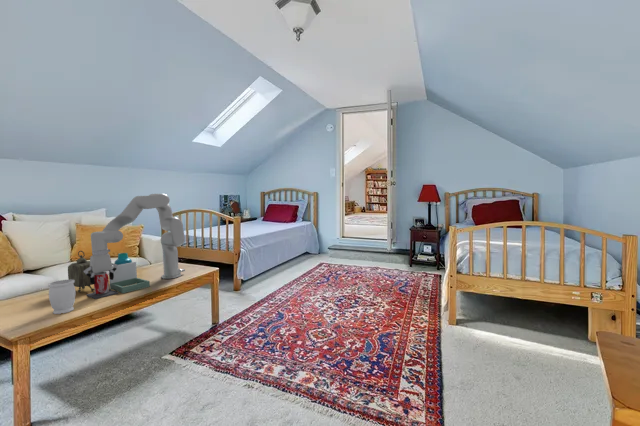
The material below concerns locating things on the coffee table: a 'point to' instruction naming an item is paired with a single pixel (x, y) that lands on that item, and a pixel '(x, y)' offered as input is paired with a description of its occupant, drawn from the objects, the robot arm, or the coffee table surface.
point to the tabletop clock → (80, 273)
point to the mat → (102, 294)
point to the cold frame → (127, 279)
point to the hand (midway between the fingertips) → (102, 281)
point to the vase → (123, 259)
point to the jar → (62, 296)
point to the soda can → (101, 283)
